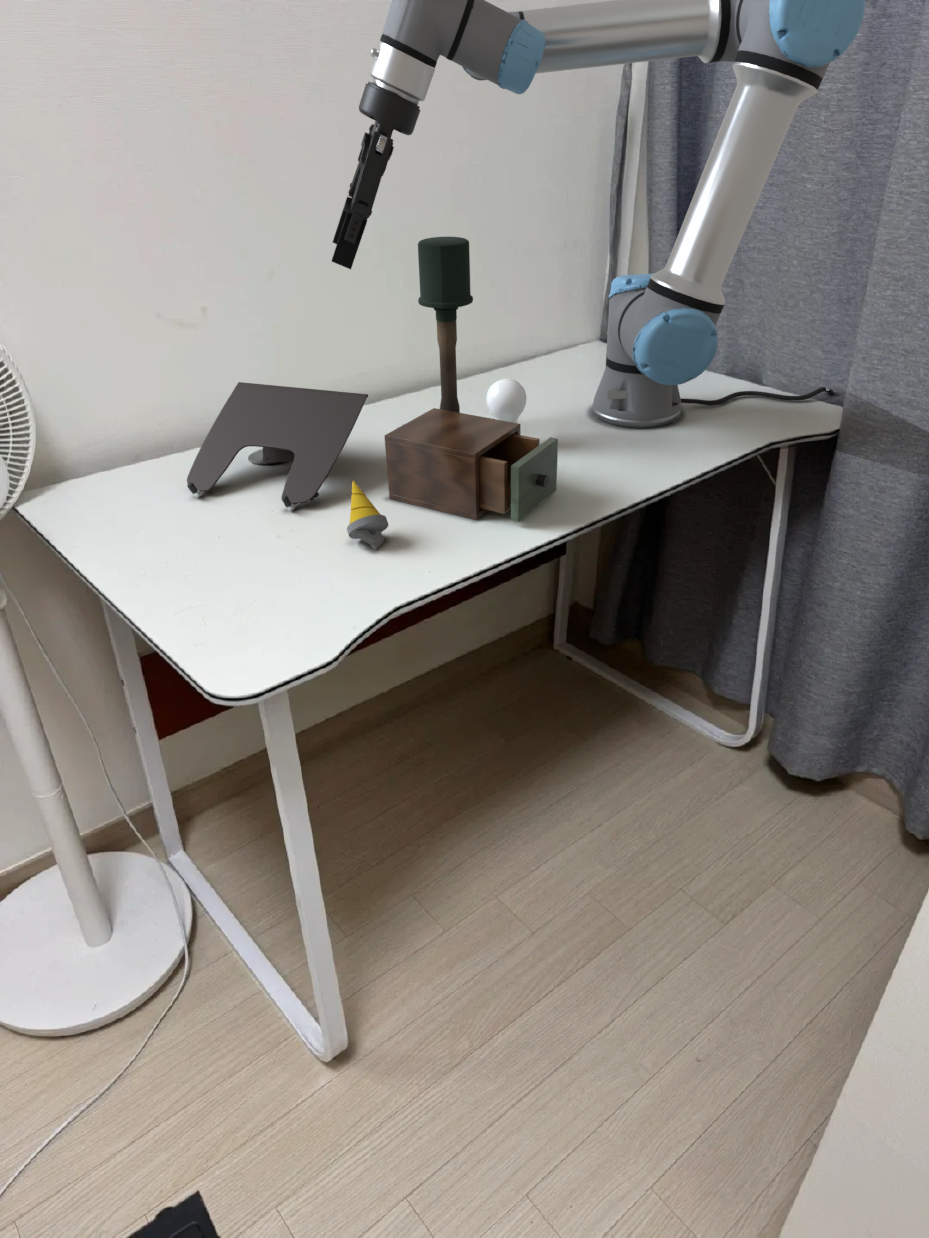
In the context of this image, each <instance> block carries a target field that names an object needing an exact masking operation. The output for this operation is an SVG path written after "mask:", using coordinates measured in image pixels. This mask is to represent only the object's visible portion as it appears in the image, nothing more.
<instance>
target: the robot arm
mask: <svg viewBox="0 0 929 1238" xmlns="http://www.w3.org/2000/svg"><path fill="white" fill-rule="evenodd" d="M865 11H866V0H603V1H595V2H587V3H578V4H570V5H569V4H567V5H560V6H551V7H543V8H535V9H526V10H520V11H519V10H518V11H506V10H504V9H502V8H500V7H498V6H497V5H494V4H492V3H491V2H489V1H486V0H391V2H390V6H389V9H388V13H387V15H386V19H385V22H384V25H383V28H382V33H381V35H380V39H379V43H378V49H377V48H376V47H375V48H374V47H373V48H371V50H370V56H371V57H372V58H374V59H375V60H374V61H372V65H371V68H370V70H369V71H370V72H369V75H370V77H371V78H372V81H368V82H367V83H365V84H364V85H365V86H364V89H363V93H362V95H361V98H360V102H359V105H358V111H359V112H360V114H362V115H364V116H365V117H367V118H369V119H371V120H373V121H374V124H373V123H371V125H370V126H369V128H368V131H369V132H366V131H365V132H364V134H363V136H362V140H361V143H360V146H361V147H360V151H359V154H358V157H357V161H358V164H357V166H356V169H355V172H354V175H353V178H352V180H351V182H350V183H349V189H348V196H346V199H345V202H344V205H343V208H342V211H341V214H340V216H339V217H340V218H339V220H338V224H337V226H336V229H335V233H334V236H333V240H332V244H335V245H336V246H335V248H334V252H333V255H332V258H331V262H332V263H334V264H337V265H339V266H341V267H344V268H346V269H348V270H352V267H353V265H354V261H355V258H356V256H357V253H358V250H359V246H360V244H361V241H362V238H363V235H364V232H365V229H366V226H367V223H368V219H369V218H370V217H371V216H372V214H373V208H374V203H375V200H376V197H377V194H378V190H379V187H380V183H381V181H382V178H383V176H384V174H385V172H386V170H387V166H388V163H389V161H390V160H391V157H392V155H393V151H394V149H395V146H394V139H393V138H392V135H393V132H394V131H396V132H398V133H401V134H402V135H406V136H412V134H413V133H414V130H415V127H416V124H417V122H418V119H419V116H420V114H421V109H420V108H421V107H420V105H419V103H420V102H424V101H425V100H426V97H427V94H428V91H429V88H430V87H431V82H432V79H433V77H434V75H435V74H434V73H435V71H436V68H437V67H436V66H437V63H438V61H439V58H440V56H442V57H444V58H445V59H447V60H448V61H450V62H453V63H455V64H457V65H459V66H461V67H462V69H463V70H464V72H465V73H466V74H467V75H469V77H471V78H472V79H473V80H476V81H489V82H491V83H492V84H494V85H496V86H498V87H499V88H500V89H502V90H507V91H509V92H511V93H514V94H516V95H522V94H524V93H525V92H527V90H529V88H530V86H531V84H532V82H533V80H534V78H535V76H536V75H537V74H545V73H555V72H563V71H572V70H581V69H590V68H601V67H608V66H609V67H611V66H618V65H626V64H636V63H644V62H645V63H647V62H654V61H663V60H671V59H672V60H673V59H680V58H681V59H682V58H691V57H698V58H699V59H700V60H701V62H702V63H704V64H710V63H721V62H722V63H724V62H727V63H729V62H730V63H732V69H733V73H734V75H735V78H736V86H735V90H734V92H733V94H732V96H731V99H730V102H729V105H728V106H727V110H726V112H725V114H724V117H723V120H722V121H721V125H720V127H719V130H718V133H717V135H716V137H715V140H714V142H713V145H712V147H711V151H710V152H709V156H708V158H707V161H706V163H705V166H704V168H703V170H702V173H701V176H700V178H699V181H698V184H697V185H696V188H695V191H694V194H693V196H692V199H691V201H690V203H689V206H688V209H687V211H686V214H685V216H684V218H683V222H682V224H681V227H680V229H679V232H678V234H677V237H676V238H675V239H676V240H675V242H674V245H673V247H672V249H671V253H670V254H669V258H668V260H667V263H666V265H665V267H663V268H662V269H660V270H658V271H656V272H655V273H636V274H623V275H619V276H616V277H615V278H613V279H612V281H611V282H610V283H611V284H610V291H609V295H608V300H609V301H608V316H607V317H608V318H607V319H608V320H607V334H606V352H605V368H604V371H603V373H602V376H601V379H600V381H599V384H598V386H597V389H596V392H595V394H594V396H593V401H592V410H591V411H592V412H591V413H592V415H593V416H594V417H595V418H596V419H597V420H599V421H601V422H604V423H606V424H610V425H613V426H617V427H624V428H635V429H636V428H639V429H641V428H656V427H661V426H666V425H670V424H672V423H674V422H676V421H677V420H679V419H680V417H681V415H682V404H690V405H691V404H693V405H701V406H702V405H704V406H715V405H716V406H717V405H720V404H723V403H726V402H728V401H730V400H732V399H735V398H737V397H747V396H748V397H753V396H754V397H762V398H769V399H774V400H781V401H793V402H794V401H795V402H796V401H798V402H799V401H804V400H808V399H811V398H813V397H815V396H817V395H819V394H821V393H824V392H825V393H827V394H828V395H830V396H835V395H836V393H835V391H834V390H833V389H832V388H830V389H831V390H829V391H826V388H825V387H826V386H821V387H818V388H817V389H814V390H813V391H811V392H808V393H806V394H803V395H787V394H779V393H772V392H766V391H759V390H758V391H757V390H741V391H737V392H732V393H730V394H727V395H725V396H724V397H721V398H718V399H711V400H709V399H698V398H682V397H681V393H680V389H679V385H683V384H686V383H688V382H690V381H693V380H695V379H696V378H698V377H699V376H701V375H702V374H703V373H704V372H705V371H706V370H707V369H708V368H709V367H710V366H711V364H712V362H713V360H714V359H715V356H716V354H717V351H718V345H719V335H718V330H717V326H716V325H717V323H718V321H719V318H720V316H721V314H722V311H723V309H724V307H725V304H726V298H725V296H724V293H723V291H722V285H723V282H724V281H725V278H726V276H727V273H728V271H729V268H730V266H731V263H732V262H733V259H734V257H735V255H736V252H737V250H738V248H739V245H740V243H741V240H742V238H743V236H744V233H745V231H746V229H747V226H748V224H749V222H750V220H751V218H752V215H753V213H754V211H755V207H756V206H757V204H758V201H759V198H760V196H761V194H762V191H763V189H764V187H765V184H766V182H767V180H768V177H769V175H770V173H771V170H772V169H773V166H774V163H775V161H776V159H777V157H778V154H779V151H780V150H781V147H782V145H783V143H784V140H785V138H786V135H787V133H788V131H789V129H790V127H791V124H792V121H793V119H794V117H795V114H796V113H797V110H798V108H799V106H800V104H801V103H803V102H804V101H806V100H808V99H810V98H812V97H813V96H815V95H817V93H818V91H819V89H820V86H821V84H822V81H823V80H824V77H825V75H826V73H827V70H828V68H829V65H830V63H832V62H835V60H837V59H838V58H840V56H842V55H843V54H844V53H845V52H846V51H847V49H849V47H850V46H851V45H852V44H853V42H854V40H855V39H856V37H857V36H858V34H859V31H860V29H861V26H862V23H863V20H864V16H865Z"/></svg>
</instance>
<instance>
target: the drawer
mask: <svg viewBox="0 0 929 1238" xmlns="http://www.w3.org/2000/svg"><path fill="white" fill-rule="evenodd" d="M540 441H541V439H540V438H539V437H533V436H528V435H522V434H520V435H518V434H512V435H511V436H509V437H508V438H506V439H505V440H503V441H502V442H500V443H499V444H497V445H496V446H494V447H493V448H491V449H490V450H488V451H487V452H485V453H484V454H482V455H481V456H479V457H478V481H479V508H481V509H486V510H489V511H490V512H495V513H497V514H502V515H505V514H507V513H508V512H509V511H510V521H512V522H517V523H519V522H520V521H522V520H523V519H524V518H526V517H527V516H528V515H529V514H530V513H531V512H533V511H534V510H535V509H536V508H537V507H538V506H540V505H541V504H542V503H543V502H545V501H546V500H547V499H548V498H550V497H551V496H552V495H553V494H554V493H556V491H557V483H558V479H557V478H558V455H559V453H558V451H559V438H557V437H549V438H547V439H545V440H544V441H543V442H541V444H540Z"/></svg>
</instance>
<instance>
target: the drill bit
mask: <svg viewBox="0 0 929 1238" xmlns="http://www.w3.org/2000/svg"><path fill="white" fill-rule="evenodd" d="M350 497H351V498H350V512H349V513H350V514H349V524H348V526H347V527H346V531H347V535H348V537H349V538H350V539H352V540H361V541H363V542H364V543H367V544H368V545H369V546H371V548H372V549H373V550H374V551H376V550H377V548H379V547H380V546H381V545H382V544H383V543H384V542H385V539H384V536H383V532H384V531H386V530H387V529H388V527H389V522H388V518H387V516H386V515H383V514H381V513H380V511H379V510H378V509H377V508H376V506H375V505H374V504H373V503H372V502H371V501H370V499H369V498H368V497H367V495H366V494H365V493H364V492H363V491H362V489H361V487H359V485H358V484H357V483H356V481H355V480H352V483H351V496H350Z"/></svg>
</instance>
